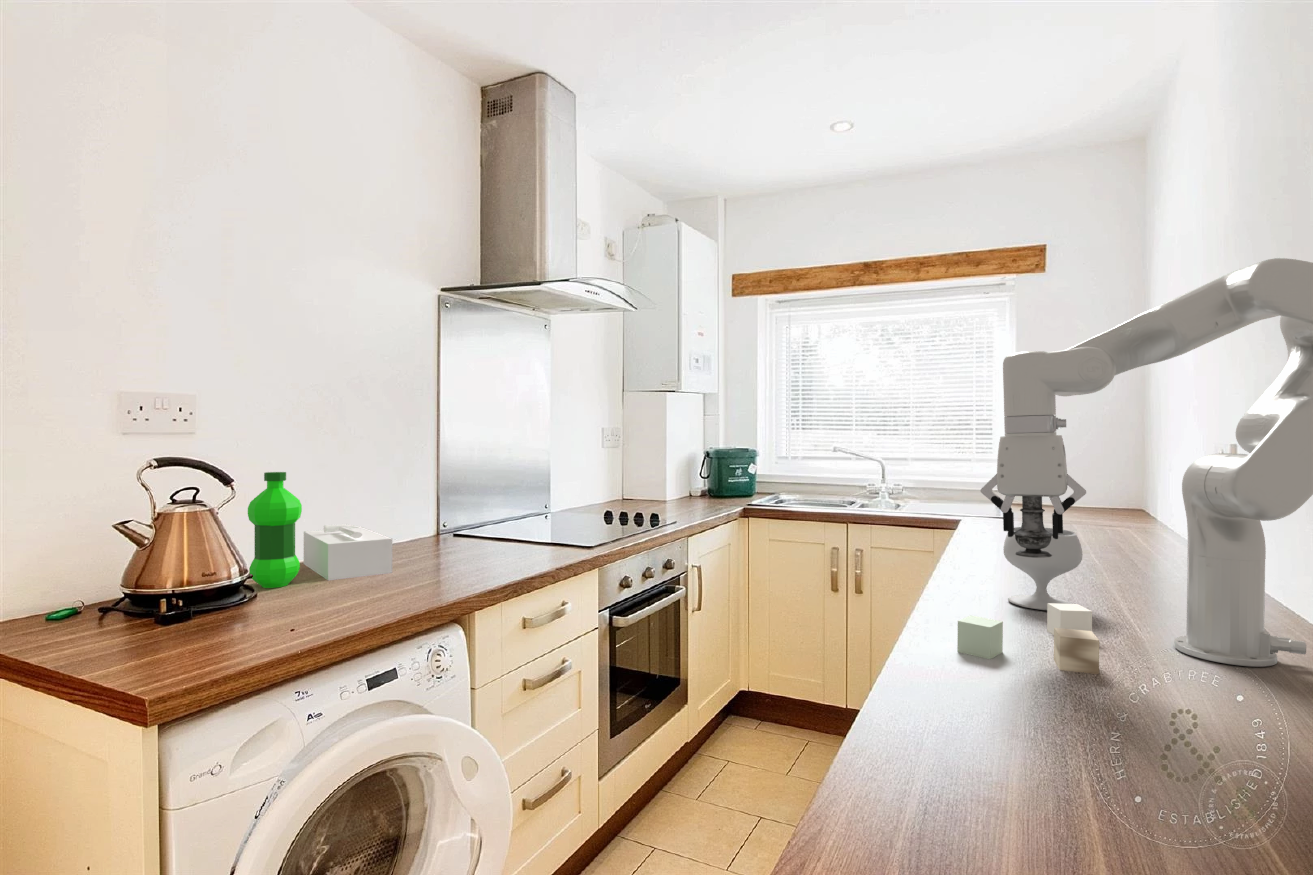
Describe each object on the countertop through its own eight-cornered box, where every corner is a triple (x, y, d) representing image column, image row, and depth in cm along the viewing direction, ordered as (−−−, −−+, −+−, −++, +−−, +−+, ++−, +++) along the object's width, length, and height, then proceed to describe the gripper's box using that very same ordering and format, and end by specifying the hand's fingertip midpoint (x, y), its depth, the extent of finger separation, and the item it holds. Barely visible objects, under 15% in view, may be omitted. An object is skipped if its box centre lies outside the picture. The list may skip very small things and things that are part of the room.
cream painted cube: (1077, 632, 122) (1077, 604, 122) (1091, 641, 117) (1092, 611, 117) (1047, 631, 123) (1047, 603, 123) (1060, 639, 118) (1060, 610, 118)
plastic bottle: (286, 590, 150) (286, 474, 150) (237, 590, 150) (237, 473, 150) (310, 580, 160) (310, 471, 160) (264, 580, 160) (264, 471, 160)
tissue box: (362, 558, 189) (362, 518, 189) (392, 574, 169) (392, 528, 169) (303, 564, 180) (303, 522, 180) (328, 581, 160) (328, 534, 160)
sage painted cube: (1002, 652, 111) (1002, 621, 111) (990, 659, 107) (990, 627, 107) (970, 645, 114) (970, 615, 114) (957, 652, 111) (957, 620, 111)
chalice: (1066, 617, 132) (1067, 538, 132) (991, 603, 142) (991, 530, 142) (1092, 606, 141) (1093, 531, 141) (1019, 593, 151) (1020, 524, 151)
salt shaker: (1059, 558, 112) (1057, 482, 112) (1019, 557, 113) (1017, 483, 113) (1046, 551, 118) (1045, 480, 117) (1008, 551, 119) (1007, 480, 119)
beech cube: (1091, 664, 106) (1091, 631, 106) (1098, 674, 101) (1099, 640, 101) (1053, 660, 107) (1053, 627, 107) (1059, 670, 103) (1059, 636, 103)
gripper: (1091, 425, 114) (1094, 536, 114) (975, 428, 123) (978, 531, 123) (1092, 425, 108) (1095, 543, 108) (970, 429, 116) (973, 537, 116)
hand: (1033, 535), depth 115 cm, fingers closed on salt shaker, 5 cm apart
